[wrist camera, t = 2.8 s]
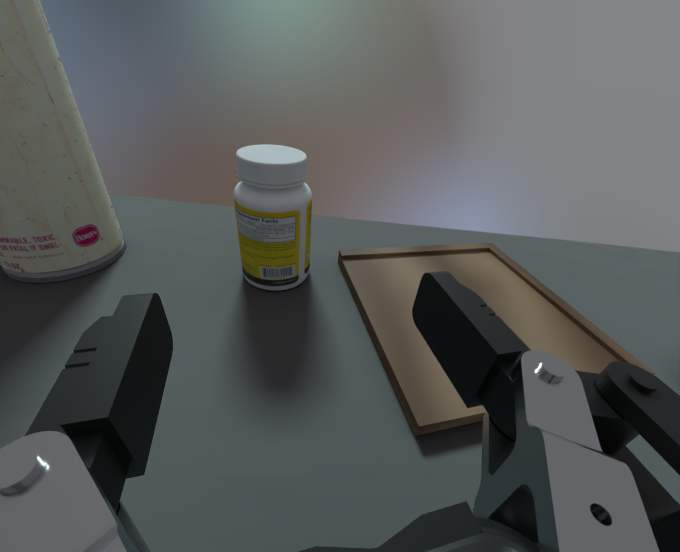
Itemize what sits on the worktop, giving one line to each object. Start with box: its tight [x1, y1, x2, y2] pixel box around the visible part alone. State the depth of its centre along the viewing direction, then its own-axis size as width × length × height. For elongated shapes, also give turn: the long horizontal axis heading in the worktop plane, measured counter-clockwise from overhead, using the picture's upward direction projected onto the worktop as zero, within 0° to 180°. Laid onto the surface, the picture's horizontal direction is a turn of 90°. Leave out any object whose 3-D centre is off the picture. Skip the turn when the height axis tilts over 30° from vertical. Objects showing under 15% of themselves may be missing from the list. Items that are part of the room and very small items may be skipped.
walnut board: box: [338, 243, 655, 436], centre depth 20 cm, size 14×14×1 cm
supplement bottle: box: [234, 145, 312, 291], centre depth 20 cm, size 5×5×8 cm
